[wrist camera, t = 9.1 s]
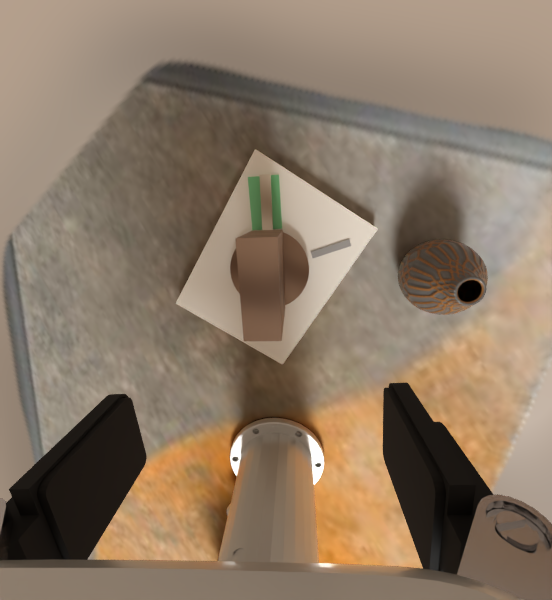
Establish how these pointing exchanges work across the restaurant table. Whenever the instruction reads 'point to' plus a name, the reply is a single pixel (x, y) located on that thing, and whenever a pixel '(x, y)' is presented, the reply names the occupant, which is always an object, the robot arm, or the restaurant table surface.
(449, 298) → the vase
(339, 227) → the dial board
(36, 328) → the restaurant table surface
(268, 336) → the dial knob
